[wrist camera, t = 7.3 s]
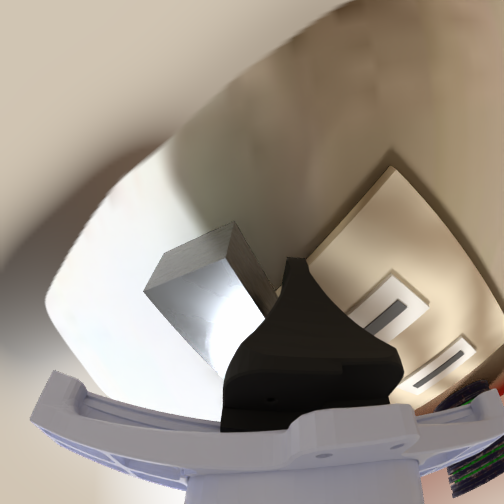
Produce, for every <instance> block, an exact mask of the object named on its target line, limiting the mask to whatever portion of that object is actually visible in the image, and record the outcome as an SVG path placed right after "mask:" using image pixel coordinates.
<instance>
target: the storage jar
mask: <svg viewBox="0 0 504 504" xmlns="http://www.w3.org/2000/svg"><path fill="white" fill-rule="evenodd" d="M489 390H491V389H489V384H488V382H487V380H480V381H476V382H474V383H471V384H469V385H467V386H465V387H464V388H462V389H460V390H458V391H457V392H455V393H454V394H452V395H451V396H449V397H448V398H446V399H445V400H444V401H443V402H441V403H440V404H439V405H438V406H437V407H436V408H435V410H434V412H433V413H435V412H440V411H444V410H448V409H452V408H456V407H459V406H463V405H467V404H470V403H471V402H472V401H473V400H474V399H475V398H476V397H477V396H478V395H479V394H481V393H483V392H486V391H489ZM447 472H448V475H452V474H453V475H452V476H450V477H449V482H450V483H453V482H455V484H453V485H451V490H453V494H452V496H453V498H455V497H458V496H460V495H462V494H465V493H467V492H469V491H471V490H473V489H475V488H477V487H479V486H481V485H483V484H485V483H487V482H488V481H490V480H492V479H494V478H495V477H497V476H499V475H500V474H502V473H503V472H504V435H503V436H502V437H500V438H499V439H498V440H496V441H495V442H494V443H492V444H491V445H489V446H488V447H486V448H485V449H484V450H482V451H481V452H479V453H477V454H475V455H473V456H471V457H469V458H466V459H464V460H462V461H459V462H457V463H455V464H452V465H450V466H448V467H447Z"/></svg>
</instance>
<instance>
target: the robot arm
mask: <svg viewBox="0 0 504 504" xmlns="http://www.w3.org/2000/svg"><path fill="white" fill-rule="evenodd" d="M404 372H405V371H404V368H403V365H402V362H401V359H400V356H399V354H398V351H397V349H396V348H395V347H393V346H391V345H389V344H388V343H386V342H384V341H382V340H380V339H378V338H377V337H375V336H374V335H372V334H371V333H369V332H368V331H366V330H365V329H363V328H362V327H361V326H359V325H358V324H357V323H356V322H354V321H353V320H352V319H351V318H349V317H348V316H347V315H346V314H345V313H344V312H343V311H342V310H341V309H340V308H339V307H338V306H337V305H336V304H335V303H334V302H333V301H332V300H331V299H330V298H329V297H328V296H327V294H326V293H325V292H324V291H323V290H322V288H321V287H320V286H319V284H318V283H317V282H316V280H315V279H314V277H313V276H312V275H311V273H310V272H309V266H308V264H307V261H306V260H305V259H303V258H293V257H287V260H286V266H285V271H284V277H283V282H282V287H281V293H280V295H279V297H278V299H277V301H276V303H275V304H274V306H273V308H272V309H271V310H270V312H269V313H268V315H267V316H266V317H265V319H264V320H263V321H262V322H261V323H260V324H259V326H258V327H257V328H256V329H255V330H254V331H253V332H252V333H251V334H250V335H249V336H248V337H247V338H245V339H244V340H243V341H242V342H241V343H240V345H239V346H238V348H237V350H236V352H235V353H234V355H233V357H232V359H231V361H230V363H229V365H228V367H227V370H226V373H225V377H224V385H223V409H222V416H221V422H217V421H209V420H202V419H196V418H190V417H184V416H179V415H174V414H169V413H164V412H159V411H155V410H150V409H146V408H142V407H138V406H134V405H131V404H127V403H123V402H120V401H116V400H113V399H110V398H106V397H103V396H100V395H97V394H94V393H91V392H88V391H87V389H86V387H85V386H84V384H83V383H82V382H81V381H79V380H78V379H76V378H74V377H72V376H69V375H66V374H64V373H61V372H59V371H56V370H53V372H52V374H51V376H50V378H49V379H48V381H47V383H46V386H45V388H44V389H43V391H42V393H41V395H40V398H39V400H38V402H37V404H36V406H35V408H34V410H33V413H32V415H31V417H30V421H31V422H32V423H33V424H34V425H35V426H37V427H38V428H39V429H40V430H41V431H42V432H43V433H45V434H46V435H47V436H48V437H50V438H51V439H52V440H53V441H54V442H56V443H57V444H58V445H60V446H62V447H64V448H66V449H68V450H70V451H72V452H74V453H76V454H79V455H81V456H83V457H85V458H88V459H90V460H92V461H94V462H97V463H99V464H102V465H104V466H107V467H109V468H112V469H114V470H117V471H119V472H122V473H125V474H128V475H131V476H133V477H137V478H139V479H142V480H146V481H149V482H152V483H156V484H159V485H163V486H167V487H170V488H174V489H178V490H183V491H186V497H185V503H184V504H424V498H423V491H422V485H421V479H420V477H422V476H424V475H427V474H430V473H433V472H435V471H438V470H440V469H443V468H445V467H448V466H450V465H452V464H455V463H457V462H459V461H462V460H464V459H466V458H469V457H471V456H473V455H475V454H477V453H479V452H481V451H482V450H484V449H485V448H486V447H488V446H489V445H491V444H492V443H494V442H495V441H496V440H498V439H499V438H500V437H502V436H503V435H504V406H503V404H502V401H501V399H500V396H499V394H498V391H497V389H492V390H489V391H486V392H483V393H481V394H479V395H478V396H477V397H476V398H475V399H474V400H473V401H472V402H471V403H470V404H467V405H463V406H459V407H456V408H452V409H448V410H444V411H440V412H435V413H431V414H426V415H421V416H415V413H414V409H413V408H412V406H411V405H409V404H401V403H396V404H390V401H389V397H388V396H389V395H390V394H391V393H392V392H393V390H394V389H395V388H396V387H397V386H398V384H399V383H400V382H401V380H402V378H403V377H404Z"/></svg>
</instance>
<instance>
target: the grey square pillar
mask: <svg viewBox="0 0 504 504" xmlns="http://www.w3.org/2000/svg"><path fill="white" fill-rule="evenodd" d="M143 292H144V293H145V294H146V296H147V297H148V298H149V299H150V300H151V302H152V303H153V304H154V305H155V306H156V307H157V309H158V310H159V311H160V312H161V313H162V314H163V316H164V317H165V318H166V319H167V320H168V321H169V322H170V324H171V325H172V326H173V327H174V328H175V329H176V330H177V331H178V332H179V334H180V335H181V336H182V337H183V338H184V339H185V340H186V341H187V342H188V343H189V344H190V345H191V346H192V347H193V349H194V350H195V351H196V352H197V353H198V354H199V355H200V356H201V357H202V358H203V359H204V360H205V361H206V362H207V363H208V364H209V365H210V366H211V367H212V368H213V369H214V370H215V371H216V372H217V373H218V374H219V375H220V376H221V377H222V378H223V379H224V377H225V373H226V370H227V367H228V365H229V363H230V361H231V359H232V357H233V355H234V353H235V352H236V350H237V348H238V346H239V345H240V343H241V342H242V341H243V340H244V339H245V338H247V337H248V336H249V335H250V334H251V333H252V332H253V331H254V330H255V329H256V328H257V327H258V326H259V324H260V323H261V322H262V321H263V320H264V319H265V317H266V316H267V315H268V313H269V312H270V310H271V309H272V308H273V306H274V304H275V303H276V301H277V299H278V296H277V294H276V292H275V291H274V289H273V287H272V285H271V284H270V282H269V280H268V278H267V277H266V275H265V273H264V271H263V270H262V268H261V266H260V264H259V263H258V261H257V259H256V258H255V256H254V254H253V252H252V251H251V249H250V247H249V245H248V244H247V242H246V240H245V238H244V237H243V235H242V233H241V231H240V230H239V228H238V226H237V225H236V223H235V221H234V222H231V223H229V224H227V225H225V226H222V227H220V228H218V229H216V230H213V231H211V232H209V233H207V234H204V235H202V236H200V237H198V238H196V239H194V240H191V241H189V242H187V243H185V244H183V245H180V246H178V247H176V248H174V249H172V250H170V251H168V252H166V253H164V254H163V256H162V258H161V260H160V261H159V263H158V265H157V267H156V269H155V270H154V272H153V274H152V276H151V278H150V280H149V281H148V283H147V285H146V287H145V289H144V291H143Z"/></svg>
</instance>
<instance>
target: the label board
mask: <svg viewBox="0 0 504 504" xmlns="http://www.w3.org/2000/svg"><path fill="white" fill-rule="evenodd" d="M306 261H307V264H308V266H309V272H310V273H311V275H312V276H313V277H314V279H315V280H316V282H317V283H318V284H319V286H320V287H321V288H322V290H323V291H324V292H325V293H326V294H327V296H328V297H329V298H330V299H331V300H332V301H333V302H334V303H335V304H336V305H337V306H338V307H339V308H340V309H341V310H342V311H343V312H344V313H345V314H346V315H347V316H348V317H349V318H351V319H352V320H353V321H354V322H356V323H357V324H358V325H359V326H361V327H362V328H363V329H365V330H366V331H368V332H369V333H371V334H372V335H374V336H375V337H377V338H378V339H380V340H382V341H384V342H386V343H388V344H389V345H391V346H393V347H395V348H396V349H397V351H398V354H399V356H400V359H401V362H402V365H403V368H404V371H405V372H404V377H403V378H402V380H401V382H400V383H399V384H398V386H397V387H396V388H395V389H394V390H393V392H392V393H391V394H390V395H389V396H388V397H389V401H390V404H396V403H401V404H409V405H411V406H412V408H413V409H414V410H416V409H417V408H419V407H421V406H422V405H424V404H426V403H427V402H429V401H430V400H432V399H433V398H435V397H436V396H438V395H439V394H441V393H442V392H444V391H445V390H447V389H448V388H450V387H451V386H452V385H454V384H455V383H457V382H458V381H459V380H461V379H462V378H463V377H465V376H466V375H467V374H469V373H470V372H471V371H472V370H474V369H475V368H476V367H477V366H479V365H480V364H481V363H482V362H484V361H485V360H486V359H487V358H488V357H489V356H491V355H492V354H493V353H494V352H495V351H496V350H497V349H498V348H500V347H501V346H502V345H503V344H504V314H503V312H502V310H501V308H500V306H499V305H498V303H497V301H496V299H495V298H494V296H493V294H492V292H491V291H490V289H489V287H488V286H487V284H486V282H485V281H484V279H483V278H482V276H481V275H480V273H479V271H478V270H477V268H476V267H475V265H474V264H473V262H472V261H471V259H470V258H469V257H468V255H467V254H466V252H465V251H464V249H463V248H462V247H461V245H460V244H459V243H458V241H457V240H456V238H455V237H454V236H453V235H452V233H451V232H450V231H449V229H448V228H447V227H446V225H445V224H444V223H443V222H442V220H441V219H440V218H439V217H438V215H437V214H436V213H435V212H434V211H433V209H432V208H431V207H430V206H429V205H428V204H427V202H426V201H425V200H424V199H423V198H422V197H421V195H420V194H419V193H418V192H417V191H416V190H415V189H414V188H413V187H412V186H411V184H410V183H409V182H408V181H407V180H406V179H405V178H404V177H403V176H402V175H401V174H400V173H399V172H398V171H397V170H396V169H395V168H393V167H392V166H391V165H390V166H389V167H388V169H387V170H386V171H385V172H384V173H383V175H382V176H381V177H380V178H379V179H378V180H377V182H376V183H375V184H374V185H373V186H372V187H371V188H370V190H369V191H368V192H367V193H366V194H365V195H364V197H363V198H362V199H361V200H360V201H359V202H358V203H357V204H356V206H355V207H354V208H353V209H352V210H351V211H350V212H349V213H348V215H347V216H346V217H345V218H344V219H343V220H342V221H341V222H340V223H339V225H338V226H337V227H336V228H335V229H334V230H333V231H332V232H331V233H330V234H329V236H328V237H327V238H326V239H325V240H324V241H323V242H322V243H321V244H320V245H319V246H318V247H317V249H316V250H315V251H314V252H313V253H312V254H311V255H310V256H309V257H308V258H307V259H306ZM281 287H282V285H281V286H280V287H279V288H278V290H277V291H276V294H277V296H278V297H279V295H280V293H281Z"/></svg>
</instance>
